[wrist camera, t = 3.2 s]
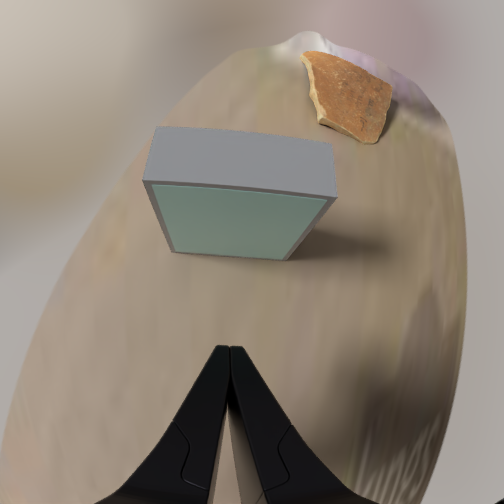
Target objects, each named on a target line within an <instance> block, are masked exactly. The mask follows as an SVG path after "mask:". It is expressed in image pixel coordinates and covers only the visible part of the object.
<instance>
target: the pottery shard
mask: <svg viewBox="0 0 504 504" xmlns="http://www.w3.org/2000/svg"><path fill="white" fill-rule="evenodd" d="M300 59H301V61H302V62H303V63H304V64H305V65H306V68H307V70H308V76H309V80H310V93H309V96H310V97H311V99H312V100H313V102H314V104H315V107H316V110H317V120H318V123H320V124H324V125H328V126H329V127H332V128H333V129H335V130H337V131H338V132H340V133H343V134H345V135H348V136H350V137H352V138H354V139H355V140H357V141H359V142H361V143H362V144H364V145H365V144H374V143H375V142H376V141H377V140H378V138H379V136H380V134H381V132H382V129H383V126H384V123H385V121H386V112H387V110H388V109H389V107H390V101H391V95H392V86H391V85H390V84H388V83H386V82H384V81H383V80H381V79H379V78H377V77H375V76H373V75H372V74H370V73H368V72H367V71H366V70H364V69H362V68H360V67H358V66H356V65H354V64H353V63H351V62H348V61H346V60H344V59H342V58H339V57H337V56H333V55H330V54H327V53H323V52H318V51H308V52H305V53H303V54H302V55H301V56H300Z"/></svg>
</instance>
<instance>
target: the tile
mask: <svg viewBox="0 0 504 504" xmlns="http://www.w3.org/2000/svg"><path fill="white" fill-rule="evenodd" d="M142 181H143V183H144V186H145V188H146V191H147V194H148V196H149V199H150V201H151V204H152V206H153V209H154V211H155V214H156V216H157V219H158V221H159V224H160V226H161V229H162V231H163V233H164V236H165V238H166V240H167V243H168V245H169V247H170V250H171V252H175V253H187V254H200V255H213V256H226V257H240V258H253V259H267V260H280V261H286V260H287V259H288V258H289V257H290V255H291V254H292V253H293V252H294V251H295V249H296V248H297V247H298V246H299V244H300V243H301V242H302V241H303V240H304V238H305V237H306V236H307V235H308V233H309V232H310V231H311V230H312V229H313V227H314V226H315V225H316V224H317V222H318V221H319V220H320V219H321V217H322V216H323V215H324V214H325V213H326V211H327V210H328V209H329V208H330V206H331V205H332V204H333V203H334V201H335V200H336V199H337V198H338V197H337V186H336V176H335V167H334V158H333V150H332V144H330V143H324V142H319V141H313V140H306V139H300V138H293V137H286V136H279V135H271V134H263V133H254V132H244V131H234V130H222V129H207V128H189V127H156V129H155V133H154V136H153V140H152V144H151V147H150V151H149V155H148V159H147V163H146V167H145V171H144V175H143V179H142Z"/></svg>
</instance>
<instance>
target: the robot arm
mask: <svg viewBox="0 0 504 504" xmlns="http://www.w3.org/2000/svg"><path fill="white" fill-rule="evenodd" d="M227 409H228V419H229V426H230V433H231V440H232V447H233V454H234V461H235V467H236V473H237V480H238V486H239V492H240V498H241V504H379V503H376V502H374V501H371V500H369V499H366V498H364V497H361V496H359V495H357V494H356V493H354V492H352V491H351V490H350V489H348V488H347V487H346V486H345V485H344V484H343V483H342V482H341V481H340V480H339V479H338V478H337V477H336V476H335V475H334V474H333V473H332V472H331V471H330V470H329V469H328V468H327V467H326V466H325V465H324V464H323V463H322V461H321V460H320V459H319V458H318V457H317V456H316V455H315V454H314V453H313V451H312V450H311V449H310V448H309V447H308V446H307V444H306V443H305V441H304V440H303V439H302V437H301V436H300V435H299V433H298V432H297V430H296V429H295V427H294V426H293V425H291V424H292V423H291V422H290V420H289V419H288V417H287V415H286V414H285V412H284V411H283V409H282V408H281V406H280V405H279V403H278V402H277V400H276V399H275V397H274V395H273V394H272V392H271V391H270V389H269V388H268V386H267V384H266V383H265V381H264V380H263V378H262V377H261V375H260V373H259V372H258V370H257V369H256V367H255V365H254V364H253V362H252V360H251V359H250V357H249V356H248V354H247V352H246V351H245V349H244V348H243V347H242V346H230V348H229V346H227V345H217V346H216V347H215V348H214V350H213V352H212V353H211V355H210V357H209V359H208V360H207V362H206V364H205V366H204V367H203V369H202V371H201V372H200V374H199V376H198V378H197V379H196V381H195V383H194V384H193V386H192V388H191V390H190V391H189V393H188V395H187V396H186V398H185V400H184V401H183V403H182V405H181V407H180V408H179V410H178V412H177V413H176V415H175V417H174V418H173V421H172V422H171V423H170V425H169V427H168V428H167V430H166V431H165V433H164V434H163V436H162V438H161V439H160V441H159V442H158V443H157V445H156V446H155V447H154V449H153V450H152V451H151V453H150V454H149V455H148V456H147V457H146V459H145V460H144V461H143V462H142V463H141V465H140V466H139V467H138V468H137V469H136V470H135V472H134V473H133V474H132V475H131V476H130V477H129V478H128V480H127V481H126V482H125V483H124V484H123V485H122V486H121V487H120V488H119V489H118V490H116V491H115V492H114V493H112V494H111V495H109V496H108V497H106V498H104V499H102V500H100V501H98V502H96V503H95V504H213V499H214V492H215V486H216V479H217V472H218V466H219V459H220V452H221V446H222V439H223V433H224V426H225V420H226V412H227ZM495 504H504V498H503V499H502V500H500V501H498V502H497V503H495Z"/></svg>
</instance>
